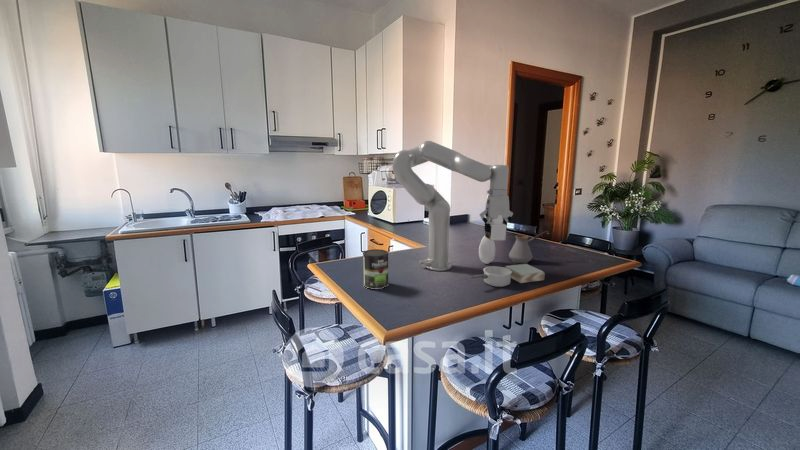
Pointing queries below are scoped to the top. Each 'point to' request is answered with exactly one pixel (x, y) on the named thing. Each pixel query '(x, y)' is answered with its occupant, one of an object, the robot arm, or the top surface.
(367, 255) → the coffee can
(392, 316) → the top surface
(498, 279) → the saucepan
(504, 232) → the medicine bottle
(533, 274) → the plinth
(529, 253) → the coffee pot
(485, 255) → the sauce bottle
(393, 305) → the top surface
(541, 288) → the top surface
